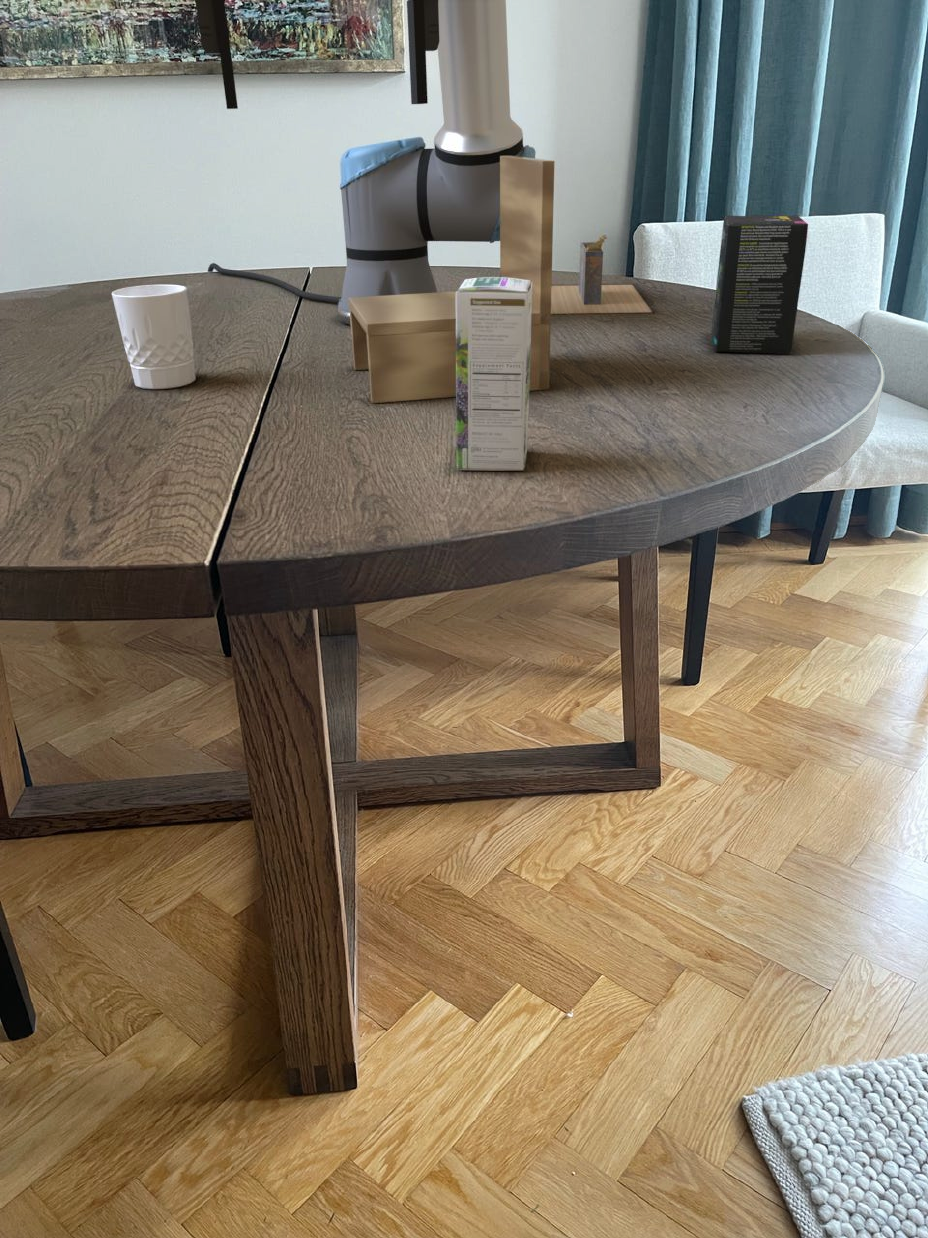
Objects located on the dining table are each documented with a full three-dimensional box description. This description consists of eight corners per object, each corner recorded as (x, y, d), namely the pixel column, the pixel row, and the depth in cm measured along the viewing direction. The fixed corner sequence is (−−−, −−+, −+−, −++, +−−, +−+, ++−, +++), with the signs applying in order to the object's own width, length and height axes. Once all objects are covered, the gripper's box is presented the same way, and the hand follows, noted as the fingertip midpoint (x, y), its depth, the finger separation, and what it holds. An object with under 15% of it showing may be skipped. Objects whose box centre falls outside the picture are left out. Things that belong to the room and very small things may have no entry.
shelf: (372, 403, 96) (356, 167, 85) (353, 368, 110) (338, 160, 99) (549, 389, 100) (554, 160, 89) (509, 356, 113) (510, 155, 103)
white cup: (214, 375, 108) (201, 285, 103) (174, 393, 101) (158, 297, 96) (156, 371, 110) (141, 283, 105) (114, 388, 104) (95, 294, 99)
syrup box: (463, 449, 82) (459, 276, 75) (530, 450, 82) (532, 276, 75) (456, 471, 77) (451, 288, 70) (527, 472, 77) (529, 287, 70)
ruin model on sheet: (652, 312, 136) (657, 241, 132) (540, 313, 137) (541, 243, 133) (632, 284, 158) (636, 222, 154) (536, 286, 159) (537, 224, 155)
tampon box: (792, 355, 111) (812, 222, 104) (713, 353, 113) (726, 222, 106) (783, 336, 120) (801, 213, 113) (710, 334, 122) (723, 213, 115)
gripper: (74, -322, 52) (146, 109, 62) (505, -299, 57) (506, 100, 67) (92, -273, 59) (154, 111, 69) (477, -256, 63) (482, 102, 73)
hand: (327, 106), depth 68 cm, fingers open, 13 cm apart
